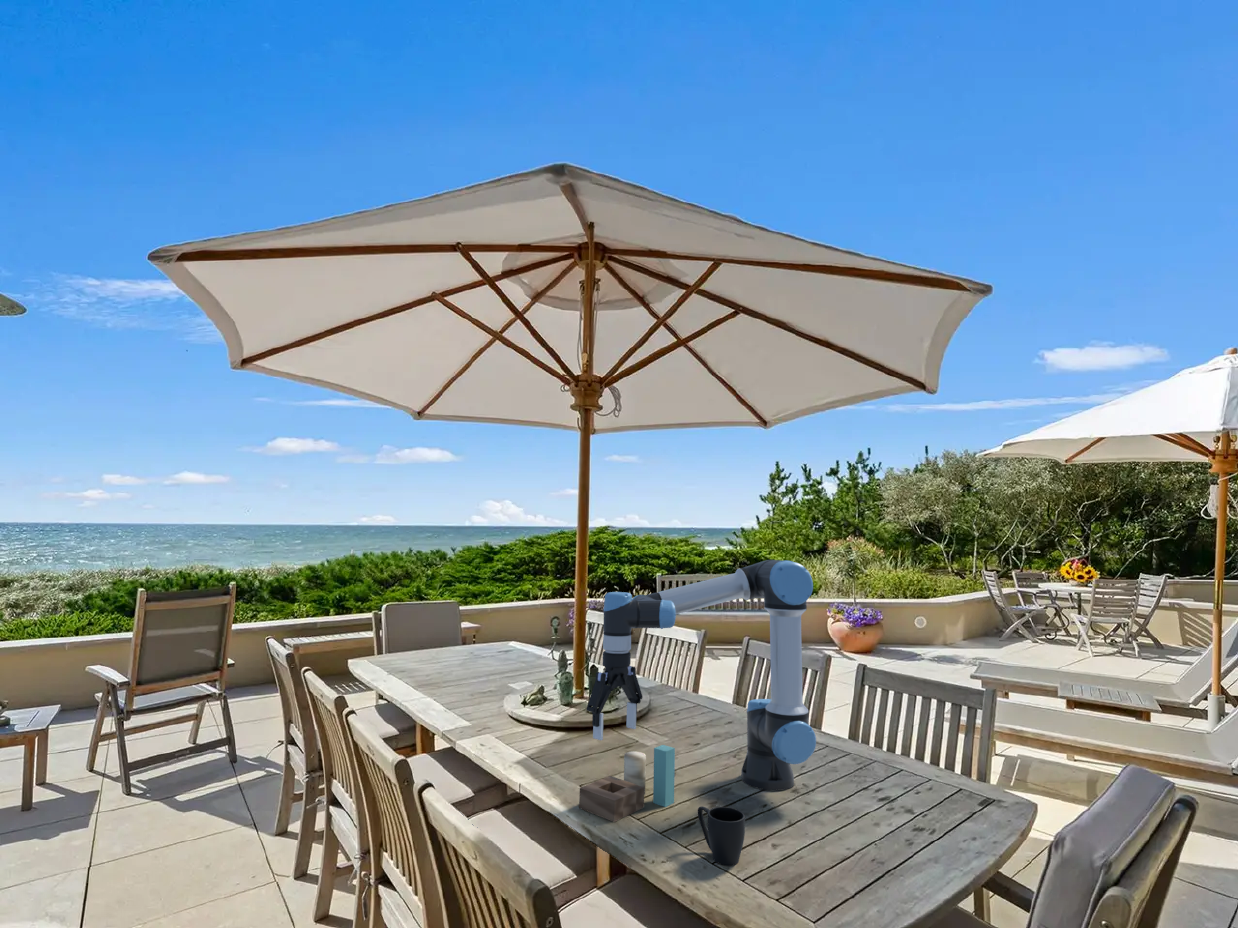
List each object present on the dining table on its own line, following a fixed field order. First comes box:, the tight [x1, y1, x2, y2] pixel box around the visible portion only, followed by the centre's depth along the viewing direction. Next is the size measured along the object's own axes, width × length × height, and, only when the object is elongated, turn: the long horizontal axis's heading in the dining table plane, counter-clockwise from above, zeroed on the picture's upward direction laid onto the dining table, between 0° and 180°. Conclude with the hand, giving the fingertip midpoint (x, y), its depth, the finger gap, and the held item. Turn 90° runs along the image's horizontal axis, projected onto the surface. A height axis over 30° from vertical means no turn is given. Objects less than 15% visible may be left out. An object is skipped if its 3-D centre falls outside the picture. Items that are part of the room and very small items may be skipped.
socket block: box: [578, 775, 645, 823], centre depth 167 cm, size 12×12×5 cm
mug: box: [697, 806, 746, 867], centre depth 142 cm, size 8×12×10 cm
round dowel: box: [623, 750, 647, 796], centre depth 177 cm, size 6×6×10 cm
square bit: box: [652, 744, 676, 808], centre depth 171 cm, size 4×4×14 cm
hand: (615, 733), depth 169 cm, fingers open, 13 cm apart
